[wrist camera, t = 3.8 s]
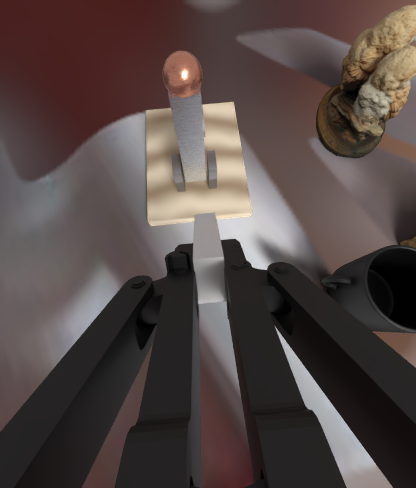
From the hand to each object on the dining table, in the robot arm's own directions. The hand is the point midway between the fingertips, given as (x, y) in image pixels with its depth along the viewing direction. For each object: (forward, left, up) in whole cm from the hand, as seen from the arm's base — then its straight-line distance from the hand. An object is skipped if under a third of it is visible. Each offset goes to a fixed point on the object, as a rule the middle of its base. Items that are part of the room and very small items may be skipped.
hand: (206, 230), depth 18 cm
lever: (-8, +13, -14) cm, 21 cm away
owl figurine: (+11, +36, -19) cm, 42 cm away
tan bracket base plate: (-11, +17, -19) cm, 27 cm away
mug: (+19, +6, -19) cm, 28 cm away
